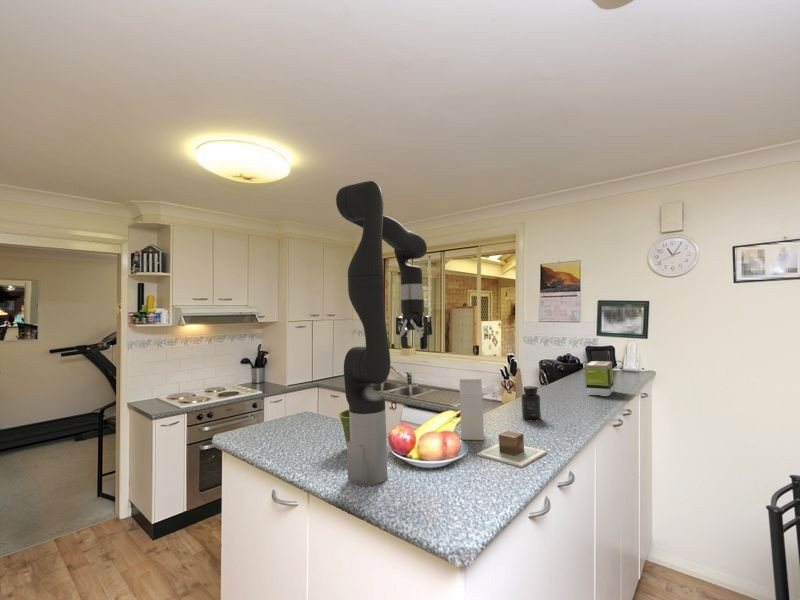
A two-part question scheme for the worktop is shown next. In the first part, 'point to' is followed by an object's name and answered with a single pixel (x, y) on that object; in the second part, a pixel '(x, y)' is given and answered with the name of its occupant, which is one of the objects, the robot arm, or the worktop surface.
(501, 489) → the worktop surface
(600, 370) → the tea box
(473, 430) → the milk carton
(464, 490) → the worktop surface
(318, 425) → the worktop surface
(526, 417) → the supplement bottle
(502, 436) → the walnut block
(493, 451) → the coaster
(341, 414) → the plant pot
